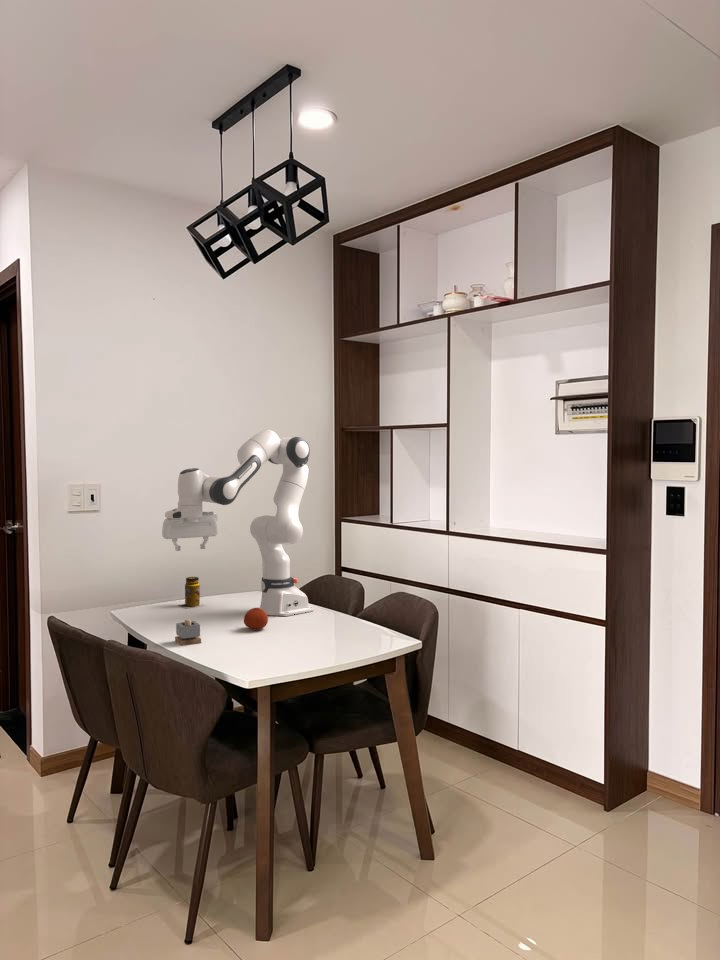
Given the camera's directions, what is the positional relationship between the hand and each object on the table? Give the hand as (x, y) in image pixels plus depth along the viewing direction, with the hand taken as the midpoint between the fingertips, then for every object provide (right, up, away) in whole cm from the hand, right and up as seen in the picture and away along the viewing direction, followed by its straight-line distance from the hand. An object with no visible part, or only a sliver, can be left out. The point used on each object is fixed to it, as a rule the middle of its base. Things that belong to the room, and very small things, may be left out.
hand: (190, 549), depth 273 cm
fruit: (+24, -30, -1) cm, 38 cm away
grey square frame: (+4, -28, -19) cm, 34 cm away
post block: (+3, -30, -18) cm, 35 cm away
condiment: (-9, -28, +38) cm, 48 cm away
